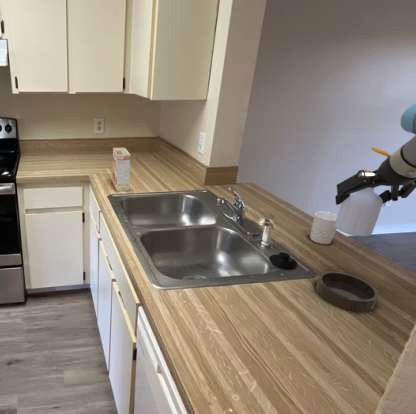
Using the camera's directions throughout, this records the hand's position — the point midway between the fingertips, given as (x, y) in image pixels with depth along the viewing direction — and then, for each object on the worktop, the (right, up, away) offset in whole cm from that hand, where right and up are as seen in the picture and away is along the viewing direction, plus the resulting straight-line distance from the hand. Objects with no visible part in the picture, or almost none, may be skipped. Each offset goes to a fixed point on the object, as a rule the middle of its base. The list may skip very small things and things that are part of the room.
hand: (355, 202), depth 99 cm
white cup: (+6, -14, +25) cm, 30 cm away
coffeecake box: (-64, +10, +81) cm, 104 cm away
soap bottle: (-1, -9, 0) cm, 9 cm away
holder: (-7, -27, -4) cm, 28 cm away
